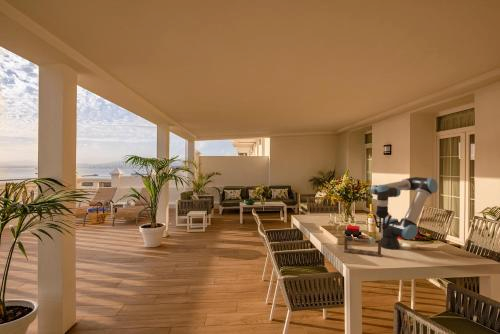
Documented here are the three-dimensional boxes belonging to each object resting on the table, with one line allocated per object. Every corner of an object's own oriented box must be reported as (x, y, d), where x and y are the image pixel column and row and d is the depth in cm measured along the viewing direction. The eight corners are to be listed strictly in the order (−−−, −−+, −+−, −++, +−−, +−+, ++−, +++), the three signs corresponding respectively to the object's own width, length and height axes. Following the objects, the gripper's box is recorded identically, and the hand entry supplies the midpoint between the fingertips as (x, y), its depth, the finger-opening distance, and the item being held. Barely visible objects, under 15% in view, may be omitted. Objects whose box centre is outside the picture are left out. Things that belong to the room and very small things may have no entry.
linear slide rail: (380, 253, 225) (381, 238, 225) (380, 257, 218) (381, 241, 217) (344, 249, 235) (345, 235, 235) (343, 252, 228) (344, 237, 227)
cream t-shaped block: (375, 243, 225) (375, 230, 224) (375, 245, 221) (375, 232, 220) (369, 242, 226) (369, 230, 226) (369, 244, 222) (369, 231, 222)
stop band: (354, 240, 230) (354, 236, 230) (354, 241, 227) (354, 237, 227) (352, 240, 230) (353, 236, 230) (352, 241, 227) (352, 237, 227)
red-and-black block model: (343, 230, 262) (345, 224, 285) (343, 240, 262) (345, 233, 285) (360, 232, 256) (361, 226, 279) (360, 242, 256) (361, 235, 279)
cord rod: (379, 243, 223) (379, 239, 223) (379, 244, 220) (379, 240, 220) (346, 239, 232) (346, 235, 232) (345, 240, 229) (345, 236, 229)
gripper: (372, 205, 219) (372, 237, 220) (392, 207, 214) (391, 239, 215) (372, 204, 226) (372, 234, 227) (391, 205, 221) (390, 236, 222)
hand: (381, 237), depth 221 cm, fingers closed
